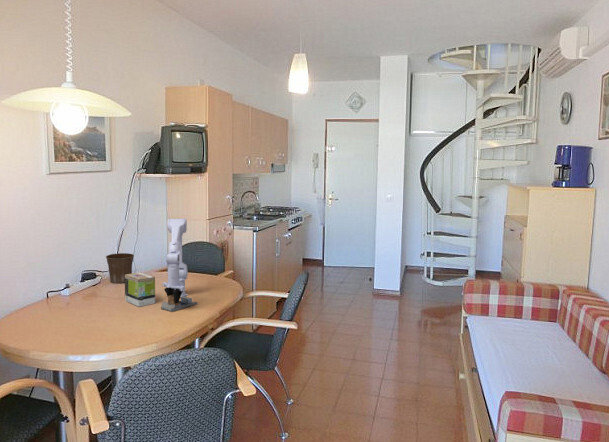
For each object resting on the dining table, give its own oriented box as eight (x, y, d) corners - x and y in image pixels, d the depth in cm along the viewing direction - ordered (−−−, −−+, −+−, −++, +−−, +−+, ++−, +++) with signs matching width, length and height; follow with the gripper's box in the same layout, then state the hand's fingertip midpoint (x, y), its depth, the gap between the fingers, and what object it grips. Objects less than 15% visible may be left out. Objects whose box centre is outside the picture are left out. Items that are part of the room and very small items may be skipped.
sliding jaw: (180, 302, 251) (180, 296, 251) (184, 301, 253) (184, 295, 253) (188, 304, 248) (188, 298, 247) (192, 303, 250) (192, 297, 250)
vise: (161, 309, 242) (161, 302, 241) (186, 301, 256) (186, 295, 255) (171, 312, 237) (171, 305, 237) (197, 304, 252) (197, 297, 251)
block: (167, 305, 243) (167, 296, 242) (174, 303, 246) (173, 294, 245) (173, 307, 241) (173, 297, 240) (179, 305, 244) (179, 295, 243)
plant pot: (128, 285, 286) (128, 258, 284) (102, 284, 286) (101, 258, 284) (138, 278, 302) (137, 253, 300) (113, 277, 302) (112, 252, 300)
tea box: (156, 303, 251) (155, 276, 249) (138, 307, 244) (137, 279, 242) (141, 297, 261) (141, 271, 259) (124, 301, 254) (123, 274, 252)
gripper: (157, 275, 242) (158, 301, 244) (177, 280, 234) (177, 306, 236) (168, 273, 248) (169, 298, 250) (188, 277, 240) (188, 303, 242)
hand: (173, 302), depth 243 cm, fingers closed on block, 4 cm apart
